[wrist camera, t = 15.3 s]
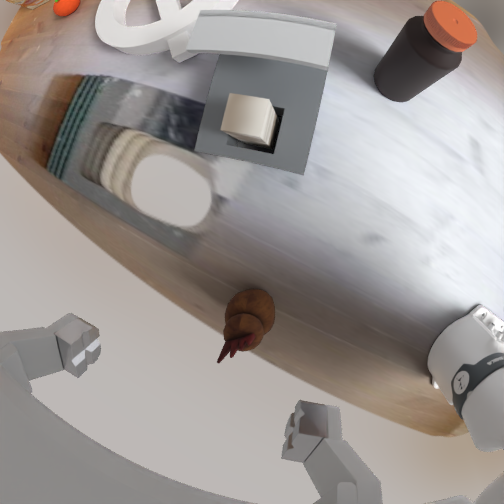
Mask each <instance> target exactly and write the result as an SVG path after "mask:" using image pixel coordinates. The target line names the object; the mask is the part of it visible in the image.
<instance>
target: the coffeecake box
mask: <svg viewBox="0 0 504 504" xmlns="http://www.w3.org/2000/svg"><path fill="white" fill-rule="evenodd" d="M4 1H8V2H11V3H15V4H18V5H21V6H24V7H27V8H30V9H32V10H33V9H35V8H36V7H38V6H40V5H42V4H44V3H46V2H48V1H50V0H4Z"/></svg>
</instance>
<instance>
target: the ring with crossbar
mask: <svg viewBox="0 0 504 504" xmlns="http://www.w3.org/2000/svg"><path fill="white" fill-rule="evenodd" d="M129 2H130V0H102V1H101V3H100V5H99V7H98V10H97V13H96V19H95V27H96V32H97V34H98V36H99V38H100V39H101V40H102V41H103V42H105V43H106V44H108V45H110V46H112V47H114V48H116V49H118V50H120V51H122V52H124V53H127V54H131V55H151V54H156V53H161V52H164V51H167V50H170V52H171V55H172V58H173V59H174V60H176V61H177V62H178V63H180V62H182V61H184V60H187V59H189V58H191V57H193V56H195V55H198V53H189V52H188V51H187V50H186V48H187V45H188V42H189V39H190V36H191V34H192V31H193V28H194V26H195V23H196V20H197V18H198V15H199V13H200V10H232V9H233V7H234V6H235V5H236V3H237V2H238V0H193V1H192V2H190V3H189V4H188V5H186V6H185V7H183V8H182V7H181V4H180V2H179V0H156V3H157V7H158V10H159V14H160V17H161V20H159V21H157V22H154V23H151V24H147V25H143V26H136V27H129V26H127V25H126V22H125V13H126V9H127V6H128V4H129Z"/></svg>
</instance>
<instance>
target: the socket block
mask: <svg viewBox="0 0 504 504" xmlns="http://www.w3.org/2000/svg"><path fill="white" fill-rule="evenodd" d="M336 25H337V24H335V23H330V22H326V21H321V20H317V19H312V18H306V17H301V16H294V15H288V14H280V13H272V12H261V11H247V10H200V13H199V15H198V18H197V20H196V23H195V26H194V28H193V31H192V34H191V36H190V39H189V42H188V45H187V48H186V50H187V51H188V52H189V53H207V54H220V55H219V58H218V61H217V65H216V68H215V72H214V75H213V78H212V82H211V86H210V89H209V93H208V97H207V100H206V104H205V108H204V112H203V116H202V120H201V124H200V128H199V132H198V137H197V141H196V146H195V150H194V151H197V152H202V153H206V154H212V155H217V156H222V157H228V158H233V159H237V160H242V161H247V162H252V163H256V164H261V165H265V166H269V167H273V168H278V169H282V170H286V171H290V172H293V173H297V174H301V175H304V171H305V167H306V163H307V159H308V155H309V150H310V146H311V142H312V138H313V134H314V129H315V125H316V121H317V116H318V112H319V107H320V103H321V98H322V94H323V89H324V84H325V80H326V75H327V71H328V66H329V61H330V56H331V51H332V46H333V41H334V36H335V30H336ZM230 93H233V94H240V95H247V96H253V97H259V98H265V99H269V100H270V102H271V104H272V106H273V109H274V111H275V113H276V115H279V116H283V118H282V122H281V127H280V131H279V135H278V139H277V143H276V147H275V152H274V154H270V153H265V152H261V151H256V150H251V149H246V148H241V147H236V146H237V142H238V139H236V138H234V137H232V136H231V135H229V134H227V133H225V132H223V131H221V125H222V121H223V117H224V113H225V109H226V106H227V102H228V98H229V94H230Z"/></svg>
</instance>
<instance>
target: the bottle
mask: <svg viewBox="0 0 504 504" xmlns="http://www.w3.org/2000/svg"><path fill="white" fill-rule="evenodd" d="M476 40H477V32H476V29H475V27H474V25H473V23H472V22H471V20H470V19H469V18H468V17H467V16H466V14H465V13H464V12H462V11H461V10H460V9H459V8H457V7H456V6H454V5H453V4H451V3H448V2H445V1H435V2H433V3H432V4H431V6H430V7H429V8H428V10H427V11H426V13H425V14H424V16H415V17H413V18H410V19H409V20H408V21H407V22H406V24H405V25H404V27H403V28H402V30H401V31H400V33H399V34H398V36H397V37H396V39H395V40H394V42H393V43H392V45H391V46H390V48H389V49H388V51H387V52H386V54H385V55H384V57H383V58H382V60H381V61H380V63H379V64H378V66H377V67H376V69H375V72H374V80H375V84H376V86H377V88H378V89H379V90H380V92H381V93H382V94H383V95H384V96H386V97H387V98H388V99H391V100H393V101H396V102H405V101H409V100H410V99H412V98H413V97H414V96H416V95H417V94H419V93H420V92H422V91H423V90H425V89H426V88H428V87H429V86H430V85H432V84H433V83H435V82H436V81H438V80H439V79H441V78H442V77H444V76H445V75H447V74H448V73H450V72H451V71H453V70H454V69H456V68H457V67H458V66H459V65H460V63H461V60H462V52H463V51H464V50H466V49H467V48H469V47H470V46H472V45H473V44H474V43H475V42H476Z"/></svg>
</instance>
